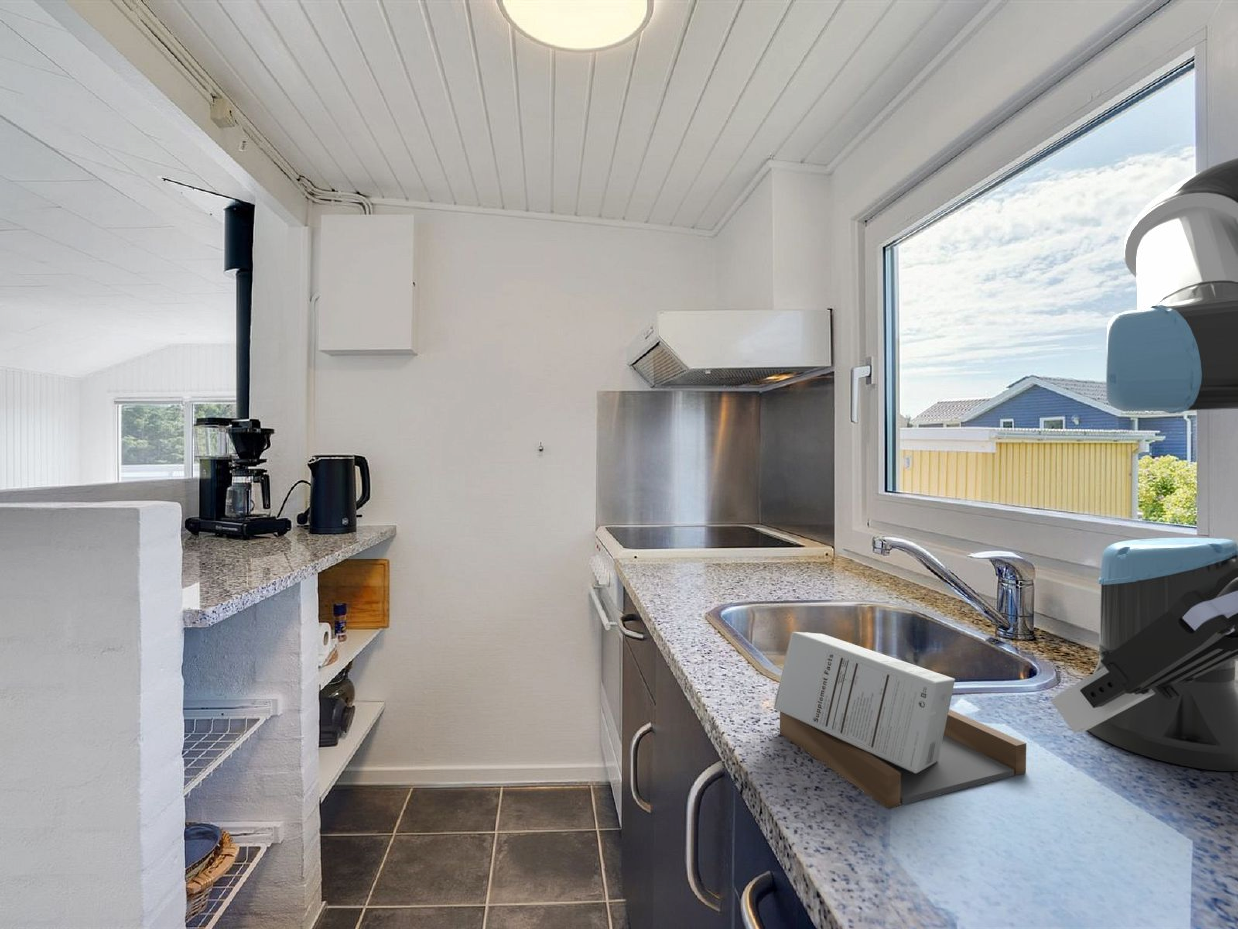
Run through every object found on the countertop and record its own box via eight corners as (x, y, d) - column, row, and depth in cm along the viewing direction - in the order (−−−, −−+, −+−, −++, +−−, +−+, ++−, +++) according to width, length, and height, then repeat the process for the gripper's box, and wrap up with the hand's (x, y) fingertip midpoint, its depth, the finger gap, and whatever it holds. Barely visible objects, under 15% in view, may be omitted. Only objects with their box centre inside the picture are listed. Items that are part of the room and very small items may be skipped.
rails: (900, 711, 76) (900, 687, 76) (1025, 772, 61) (1026, 743, 61) (779, 733, 69) (780, 707, 69) (887, 808, 54) (888, 775, 54)
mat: (889, 712, 75) (889, 708, 75) (1014, 775, 60) (1014, 769, 60) (792, 731, 70) (792, 725, 70) (902, 804, 55) (902, 798, 55)
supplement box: (939, 763, 62) (804, 704, 72) (957, 678, 63) (822, 631, 73) (915, 777, 55) (770, 710, 65) (936, 681, 56) (790, 629, 66)
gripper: (1411, 596, 28) (1045, 777, 44) (1523, 582, 33) (1156, 750, 48) (1259, 481, 33) (980, 680, 49) (1375, 482, 38) (1086, 664, 53)
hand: (1068, 714), depth 48 cm, fingers closed
